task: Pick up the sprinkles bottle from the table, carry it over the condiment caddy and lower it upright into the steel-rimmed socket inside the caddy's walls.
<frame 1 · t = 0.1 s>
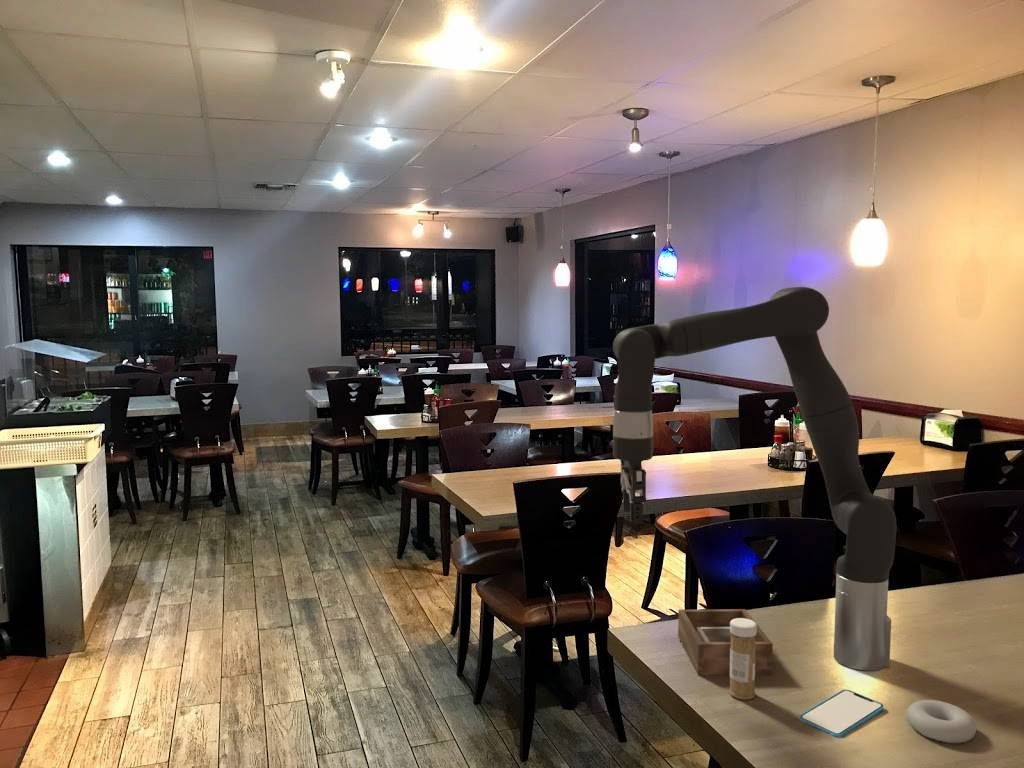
hand: (632, 517, 148), 29 cm above the table, tool pointing down, fingers open, 8 cm apart
sprinkles bottle: (741, 695, 138), on the table
caddy: (722, 654, 154), on the table
donut: (940, 731, 126), on the table
smartphone: (841, 717, 131), on the table
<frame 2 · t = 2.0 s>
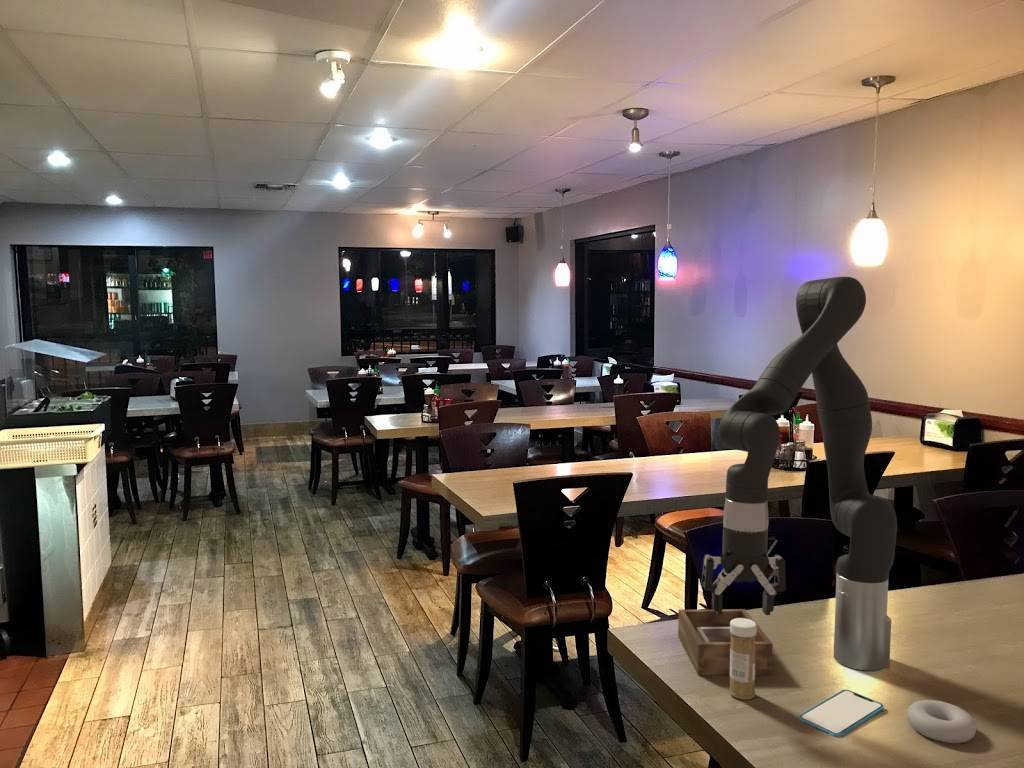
hand: (742, 613, 137), 15 cm above the table, tool pointing down, fingers open, 8 cm apart
nothing on the table moved.
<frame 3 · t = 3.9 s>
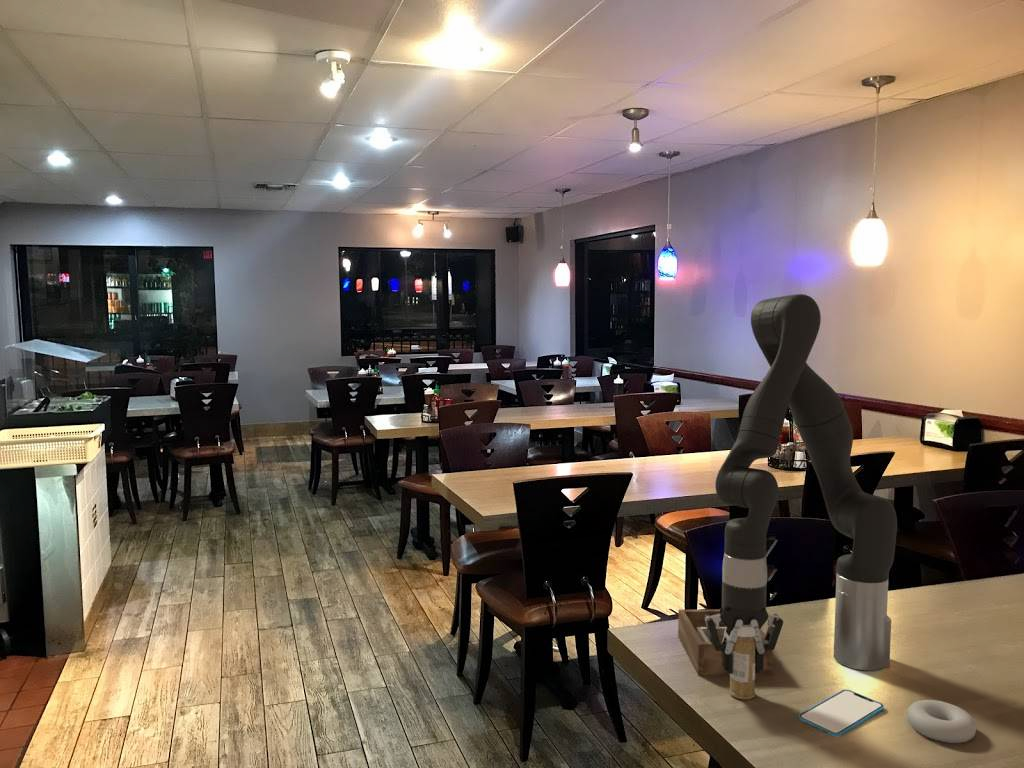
hand: (742, 671, 138), 4 cm above the table, tool pointing down, fingers closed on sprinkles bottle, 4 cm apart
sprinkles bottle: (741, 695, 138), on the table, touching gripper
everything else where it was.
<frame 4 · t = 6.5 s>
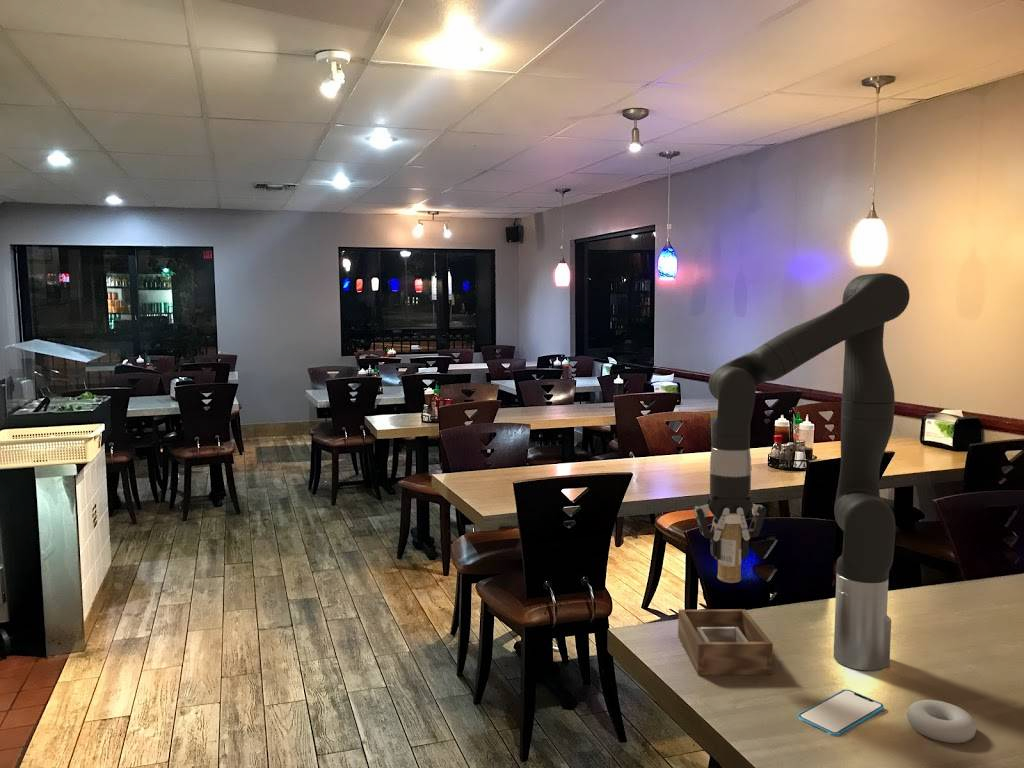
hand: (729, 557, 148), 21 cm above the table, tool pointing down, fingers closed on sprinkles bottle, 4 cm apart
sprinkles bottle: (728, 580, 149), point 17 cm above the table, touching gripper
everything else where it was.
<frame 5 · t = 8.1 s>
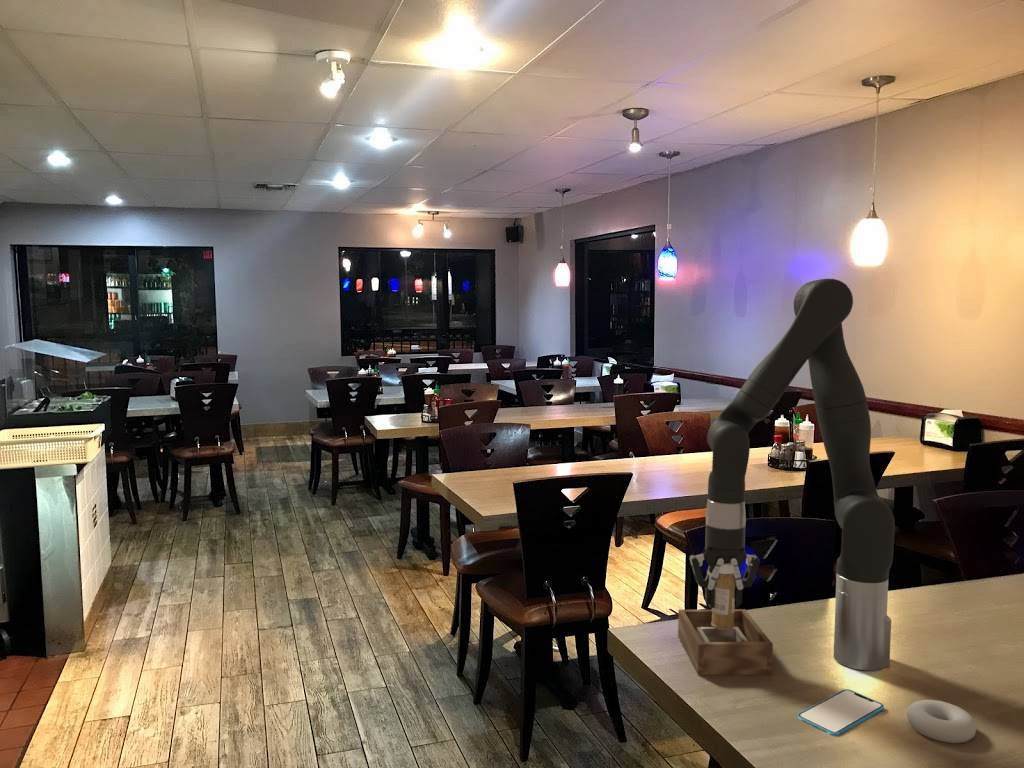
hand: (723, 605, 153), 10 cm above the table, tool pointing down, fingers closed on sprinkles bottle, 4 cm apart
sprinkles bottle: (722, 627, 153), point 6 cm above the table, touching gripper
everything else where it was.
when the fingers open (7 cm above the table, at t = 9.2 s): sprinkles bottle drops 1 cm, resting on caddy.
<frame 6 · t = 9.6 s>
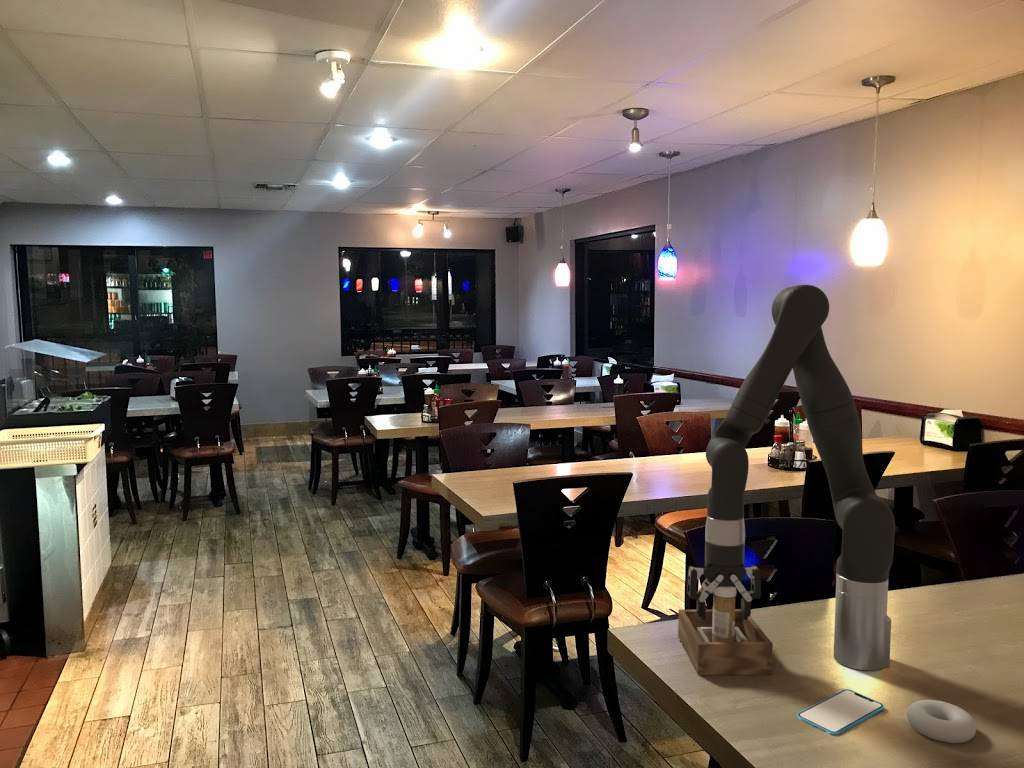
hand: (723, 618, 153), 8 cm above the table, tool pointing down, fingers open, 8 cm apart
sprinkles bottle: (722, 650, 154), point 1 cm above the table, touching caddy
everything else where it was.
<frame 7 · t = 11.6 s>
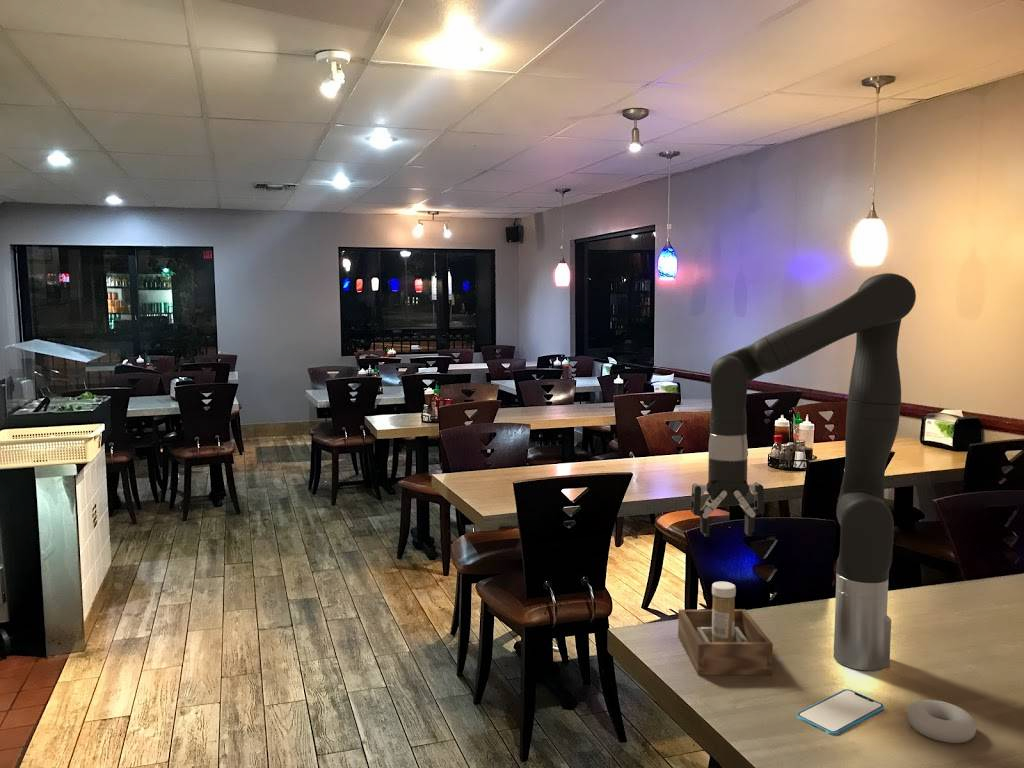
hand: (726, 534, 155), 23 cm above the table, tool pointing down, fingers open, 8 cm apart
nothing on the table moved.
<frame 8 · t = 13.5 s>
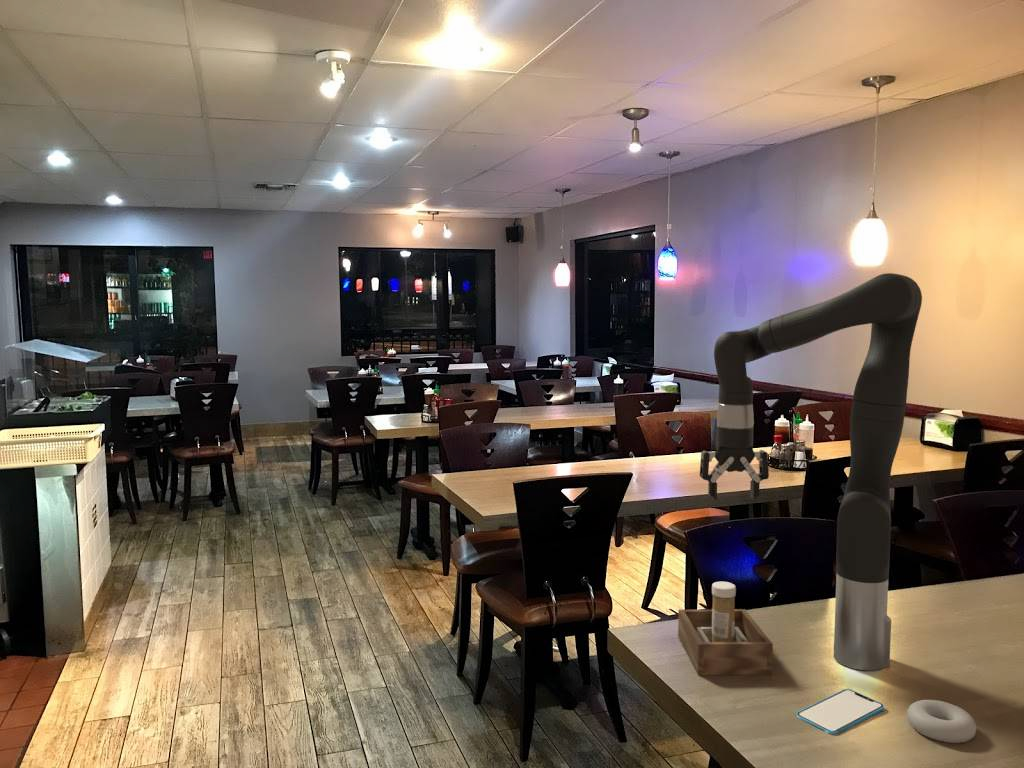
hand: (733, 498, 166), 28 cm above the table, tool pointing down, fingers open, 8 cm apart
nothing on the table moved.
at the end: sprinkles bottle 0.0 cm off-centre on the caddy, point 0.8 cm above the caddy's base; sprinkles bottle tilted 0°; the gripper is holding nothing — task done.
